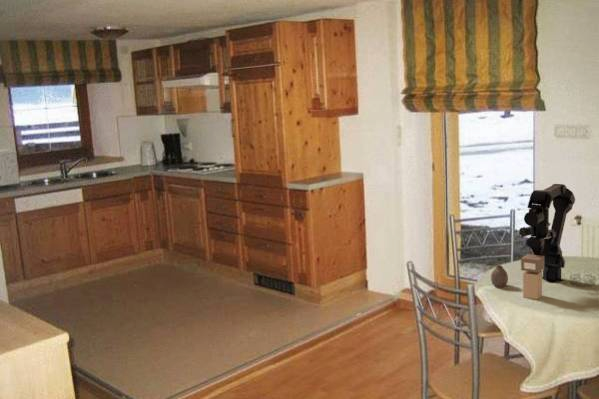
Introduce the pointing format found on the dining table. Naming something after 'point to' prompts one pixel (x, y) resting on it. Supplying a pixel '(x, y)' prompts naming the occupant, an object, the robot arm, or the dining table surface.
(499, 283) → the vase
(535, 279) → the mailer box
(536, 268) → the lid
